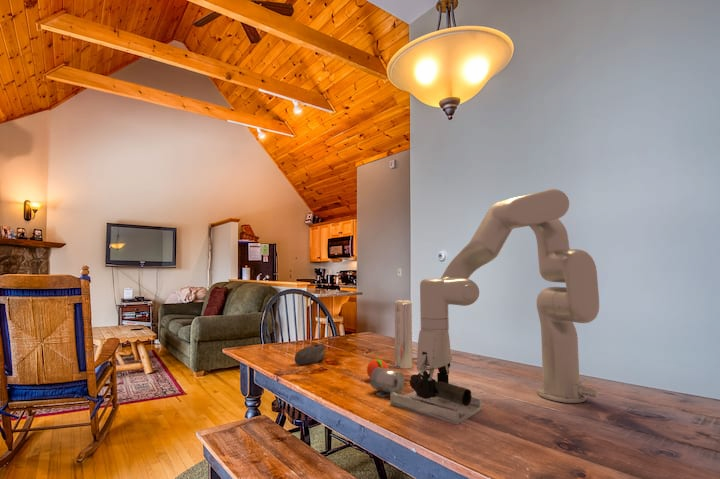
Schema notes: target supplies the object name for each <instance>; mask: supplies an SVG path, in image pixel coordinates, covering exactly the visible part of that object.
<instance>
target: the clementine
mask: <svg viewBox="0 0 720 479" xmlns="http://www.w3.org/2000/svg"><path fill="white" fill-rule="evenodd" d="M366 367H367V368H366V373H367V376H368V377H369V378H370V377H371V373H372V371H373V370H374V369H375V368H377V367H380V368H384V369H388V365H387V363H386V362H385V361H384V360H382V359H380V358H375V359H372V360H370V361H369V363H368V364H367V366H366Z"/></svg>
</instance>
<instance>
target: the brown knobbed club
mask: <svg viewBox="0 0 720 479" xmlns="http://www.w3.org/2000/svg"><path fill="white" fill-rule="evenodd" d="M432 380H434V396H428V395H424V394H423V393H422V379H421V376H420V374H419V373H417V374H412V375H411V376H410V380H409V386H410V387H411V389H413V392H414V391H416V394H417V396H419V397H422V398H424V399H428V398H431V397H433V398H434V397H436V396H438V397H441V398H443V399H446V400H449V401H452V402H455V403H457V404H460V405H464V406H468V405H469V404H470V402H471V398H472V396H473V395H472V391H471V389H468V388H466V387H462V386H458V385H456V384H452V383H449V384H448V383H445V382H437V380H435V379H433V378H432Z"/></svg>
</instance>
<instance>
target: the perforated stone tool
mask: <svg viewBox="0 0 720 479" xmlns="http://www.w3.org/2000/svg"><path fill="white" fill-rule="evenodd" d="M325 347H326V346H325V344H324V343H316V344H312V345H309V346H308V345H307V346H306V347H303V348H301V349H300V350H299V351H297V352H296V353H295V356H294V362H295V364H297V365H298V366H299V365H300V366H305V365H312V363H313V364H317V363H318V362H322V361H323V360H324V357H325V353H326V351H325Z"/></svg>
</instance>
